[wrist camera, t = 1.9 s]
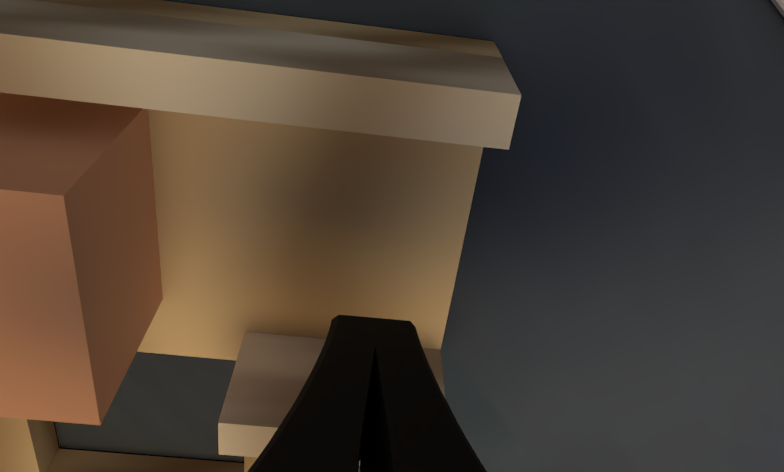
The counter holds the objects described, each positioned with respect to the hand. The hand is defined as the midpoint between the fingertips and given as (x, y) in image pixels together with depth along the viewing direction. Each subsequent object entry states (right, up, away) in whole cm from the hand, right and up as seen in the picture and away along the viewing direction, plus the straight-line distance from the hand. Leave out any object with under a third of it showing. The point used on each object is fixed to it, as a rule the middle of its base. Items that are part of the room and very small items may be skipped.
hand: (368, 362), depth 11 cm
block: (-7, +3, +3) cm, 9 cm away
